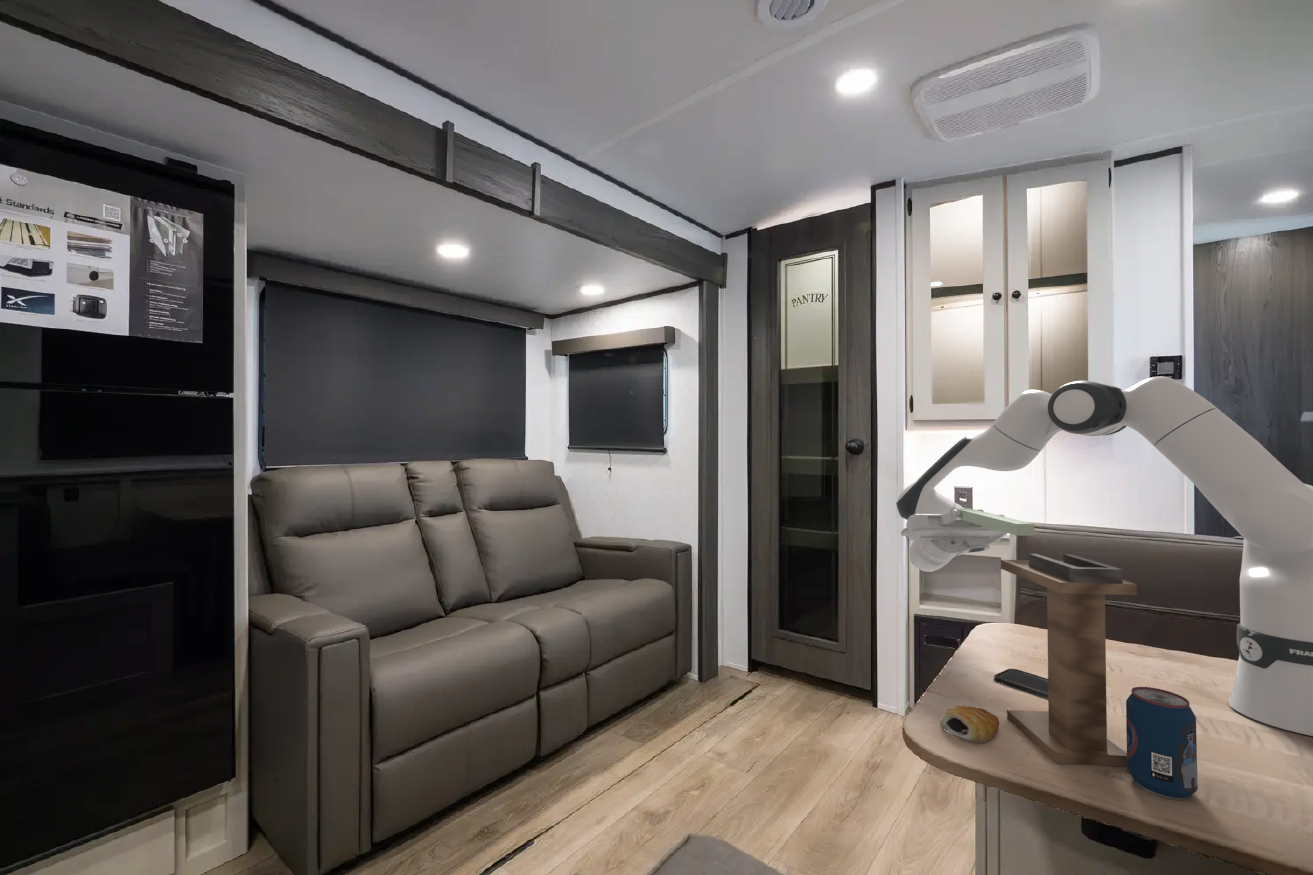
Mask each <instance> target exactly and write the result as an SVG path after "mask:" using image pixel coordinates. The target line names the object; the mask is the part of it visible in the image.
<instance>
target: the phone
mask: <svg viewBox="0 0 1313 875" xmlns="http://www.w3.org/2000/svg"><path fill="white" fill-rule="evenodd" d="M993 680H994V681H995V682H996V683H999V682H1000V683H999V684H1002V683H1003V684H1002V685H1005V684H1006V685H1005V686H1008V687H1011V688H1014V689H1017V690H1020V689H1021V690H1020V691H1023V690H1024V691H1023V692H1025V693H1029V694H1032V695H1034V696H1038V697H1040V698H1043V699H1047V700H1048V677H1047V678H1046V677H1043V676H1039V675H1037V674H1033V673H1030V672H1026V671H1024V670H1020V669H1017V668H1007V669H1005V670H1003V671H1000V672H998V673H996V674H994V676H993Z"/></svg>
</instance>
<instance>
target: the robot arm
mask: <svg viewBox="0 0 1313 875" xmlns="http://www.w3.org/2000/svg"><path fill="white" fill-rule="evenodd" d="M1127 427H1129V428H1131V429H1133V430H1135V431H1136V432H1138V434H1140V435H1141V436H1142V437H1144V439H1146V440H1147V441H1148V442H1149V443H1150V444H1151V445H1152V446H1153V447H1154V448H1155V449H1156V450H1157V451H1158V452H1160V453H1161V454H1162V455H1163V456H1164V457H1165V458H1166V459H1167V460H1168V461H1169V462H1170V463H1171V464H1173V465H1174V466H1175V467H1176V468H1177V469H1178V470H1179V471H1180V472H1181V473H1183V475H1185V477H1186V478H1188V479H1189V480H1190V481H1191V483H1193V485H1194V486H1195V487H1196V488H1197V489H1198V490H1199V492H1200V493H1201V494H1202V495H1203V496H1204V498H1206V500H1207V501H1208V502H1209V503H1210V504H1211V505H1212V507H1214V508H1215V510H1216V511H1217V512H1218V513H1219V514H1220V515H1221V516H1222V517H1223V518H1224V519H1225V520H1226V521H1227V522H1228V523H1229V525H1231V527H1232V528H1234V530H1235V531H1237V532H1238V534H1239V535H1240V536H1241V537H1242V538H1243V545H1242V556H1241V558H1242V559H1241V566H1240V567H1241V568H1240V574H1239V611H1240V612H1239V615H1240V616H1239V618H1240V619H1239V620H1240V622H1239V623H1238V624H1237V625H1236V644H1237V647H1238V652H1239V656H1238V662H1237V668H1236V674H1235V680H1234V683H1233V688H1232V692H1231V693H1230V694H1231V695H1229V699H1228V701H1227V703H1228V705H1229V707H1231V708H1232V709H1233V710H1235V711H1236V712H1238V713H1240V714H1242V715H1244V716H1246V717H1248V718H1249V719H1250V718H1251V719H1253V720H1255V721H1258V722H1260V723H1263V724H1267V725H1269V726H1272V727H1275V728H1279V729H1282V730H1286V731H1289V732H1293V733H1297V734H1300V735H1301V734H1303V735H1305V736H1306V735H1307V736H1310V737H1313V485H1311V484H1307V483H1304V482H1302V481H1301V480H1300V479H1299V478H1298V477H1297V476H1296V475H1294V473H1292V472H1291V471H1290V470H1289V469H1287V468H1286V467H1285V466H1284V465H1283V464H1282V463H1281V462H1280V461H1279V460H1278V459H1277V458H1276V457H1275V456H1273V454H1272V453H1270V452H1269V451H1268V450H1267V449H1266V448H1265V447H1264V445H1262V444H1261V443H1260V441H1258V440H1257V439H1256V438H1254V436H1252V435H1251V434H1249V433H1248V432H1247V431H1246V430H1244V428H1242V427H1241V426H1240V425H1239V424H1237V423H1236V422H1235V421H1233V419H1231V418H1230V417H1229V416H1228V415H1226V414H1225V413H1224V412H1223V411H1221V409H1219V408H1218V407H1217V406H1215V404H1213V403H1212V402H1211V401H1209V400H1207V399H1206V398H1205V397H1204V396H1202V395H1200V394H1199V393H1198V392H1196V391H1195V390H1193V389H1191V388H1189V387H1188V386H1186V385H1185V384H1182V383H1181V382H1180V381H1177V380H1176V379H1174V378H1171V377H1169V376H1165V375H1163V376H1161V375H1160V376H1159V375H1158V376H1152V377H1149V378H1146V379H1143V380H1141V381H1138V382H1137V383H1136V384H1134V385H1132V386H1131V387H1129V388H1127V389H1122V388H1120V387H1117V386H1113V385H1110V384H1108V383H1106V382H1101V381H1090V380H1076V381H1072V382H1068V383H1066V384H1064V385H1061V386H1060V387H1058V388H1057V389H1056V390H1055V391H1054V392H1053V393H1049V392H1047V391H1044V390H1040V389H1029V390H1025V391H1023V392H1021V393H1020V394H1019V395H1018V396H1017V397H1015V399H1013V400H1012V401H1011V402H1010V403H1009V404H1008V405H1007V406H1006V407H1005V408H1004V410H1002V411H1001V413H1000V414H999V415H998V416H997V418H996V419H995V420H994V422H993V423H992V424H991V425H990V427H988V428H987V429H986V430H985V431H983V432H982V433H979V434H977V435H975V436H973V435H970V436H969V435H967V436H965V437H962V439H960V440H959V441H957V442H956V443H955V444H954V445H953V446H952V447H951V448H949V449H948V450H947V451H946V452H945V453H944V454H943V455H942V456H940V457H939V459H938V460H937V461H936V462H934V463H933V464H932V465H931V466H930V467H928V469H927V470H926V471H925V472H924V473H923V474H922V475H921V476H920V477H919V478H918V479H916V481H914V482H913V483H911V484H910V485H908V486H907V487H906V488H904V489H903V491H902V492H901V493H900V494H899V496H898V498H897V500H896V503H895V504H896V508H897V511H898V513H899V516H900V517H901V518H902V519H904V520H906V523H905V527H906V528H905V527H904V528H903V529H902V530H901V531H900V536H902V537H905V538H907V539H908V540H910V541H913V542H912V543H911V545H910V547H909V549H908V559H909V561H910V562H911V564H912V565H913V566H914V567H915V568H917V569H918V570H920V571H922V572H926V573H932V572H936V571H938V570H940V569H942V568H943V567H945V566H946V565H948V563H949V562H950V561H952V559H954V558H955V557H957V556H959V557H960V556H962V555H965V554H969V553H977V552H985V551H988V550H989V549H990V547H991V546H990V545H992V544H996V543H997V542H999V541H1000V540H1001V539H1003V538H1004V537H1006V535H1008V533H1006V532H1003V531H999V530H996V529H992V528H989V527H985V526H982V525H979V524H975V523H972V522H968V521H965V520H961V518H962V516H963V515H962V513H961V512H962V511H961V510H957V509H956V510H955V509H954V508H965V507H963V506H962V505H961V504H959V503H957V502H954V501H953V500H951V499H949V498H948V497H946V496H944V495H942V493H939V492H938V491H936V489H935V487H936V486H937V485H938V484H940V482H942V481H943V480H944V479H945V478H946V477H948V475H950V474H951V473H952V472H953V471H954V470H955V469H957V468H961V467H975V468H980V469H981V468H982V469H986V470H992V471H996V472H1012V471H1013V472H1014V471H1018V470H1021V469H1023V468H1025V467H1026V466H1028V465H1029V464H1030V463H1031V462H1033V460H1034V459H1035V458H1036V457H1037V456H1038V455H1039V454H1040V452H1042V450H1044V447H1045V446H1046V445H1047V444H1048V443H1049V441H1051V439H1052V438H1053V437H1054V436H1055V435H1056V434H1058V433H1059V432H1062V431H1063V432H1066V433H1070V434H1075V435H1081V436H1086V437H1099V436H1109V435H1113V434H1117V433H1120V432H1121V431H1123V430H1124V429H1125V428H1127ZM977 510H978V511H983V512H985V511H984V509H977ZM998 515H999V516H1003V517H1006V516H1005V515H1003V514H998Z"/></svg>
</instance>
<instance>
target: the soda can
mask: <svg viewBox="0 0 1313 875" xmlns="http://www.w3.org/2000/svg"><path fill="white" fill-rule="evenodd" d="M1190 704H1191V703H1190V701H1189V700H1188V698H1185V697H1184V696H1182V695H1179V694H1177V693H1175V692H1173V691H1168V690H1165V689H1161V688H1157V687H1150V686H1136V687H1132V688H1131V692H1130V694H1129V695H1128V698H1127V699H1126V701H1125V711H1126V713H1125V714H1126V715H1125V716H1126V717H1125V718H1126V721H1125V722H1126V724H1125V725H1126V727H1125V728H1126V730H1125V731H1126V753H1127V767H1126V768H1127V772H1128V774H1130V776H1131V778H1132V780H1133V781H1134V783H1135V784H1136V785H1138V787H1140V788H1141V789H1143V790H1145V791H1147V792H1149V793H1151V794H1153V795H1156V796H1157V797H1161V798H1165V799H1170V800H1174V801H1175V800H1176V801H1187V800H1188V799H1190V798H1191V797H1193V795H1194V794H1195V793H1196V792H1197V791H1198V753H1197V752H1198V750H1197V749H1198V748H1197V746H1198V745H1197V739H1198V738H1197V717H1196V715H1195V713H1194V711H1193V709H1192V708H1191V706H1190Z"/></svg>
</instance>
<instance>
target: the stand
mask: <svg viewBox="0 0 1313 875" xmlns="http://www.w3.org/2000/svg"><path fill="white" fill-rule="evenodd" d="M1000 570H1003V571H1006V572H1008V573H1010V574H1013V575H1015V576H1018V577H1019V578H1022V579H1025V580H1027V581H1030V582H1032V583H1035V584H1037V585H1039V586H1042V587H1044V588H1046V607H1047V608H1046V612H1047V614H1046V616H1047V618H1046V619H1047V620H1046V622H1047V679H1048V699H1047V700H1048V701H1047V702H1048V706H1047V707H1048V710H1047V711H1044V710H1024V709H1023V710H1022V709H1021V710H1019V709H1016V710H1015V709H1006V720H1008V721H1009V722H1010V723H1011V724H1012V725H1013V726H1014V727H1016V728H1017V730H1019V731H1020V732H1021V733H1022V734H1023V735H1024V736H1026V737H1027V739H1029V741H1031V742H1032V743H1033V744H1034V745H1035V746H1036V747H1037V748H1039V750H1041V751H1042V752H1043V754H1045V755H1046V756H1047V757H1049V759H1051V760H1052V761H1053V762H1054V763H1055V764H1062V765H1063V764H1064V765H1085V766H1086V765H1087V766H1090V765H1091V766H1105V767H1108V766H1109V767H1125V768H1127V751H1124V749H1122V748H1121V747H1119V746H1118V745H1117V744H1115V743H1114V742H1112V741H1111V740H1110V739H1108V731H1107V730H1108V725H1107V724H1108V722H1107V720H1108V719H1107V716H1108V715H1107V714H1108V713H1107V712H1108V711H1107V710H1108V709H1107V654H1106V653H1107V652H1106V650H1107V649H1106V644H1107V643H1106V640H1107V639H1106V595H1124V596H1137V595H1138V588H1137V587H1138V586H1137V585H1138V584H1137V583H1134V582H1132V581H1128V580H1125V579H1123V577H1124V576H1123V575H1124V574H1123V569H1122V568H1119V567H1115V566H1112V565H1108V564H1106V563H1101V562H1099V561H1096V560H1092V559H1089V558H1084V557H1082V556H1078V555H1075V554H1072V553H1071V554H1070V553H1068V554H1067V553H1066V554H1064V553H1063V554H1062V560H1057V559H1053V558H1051V557H1047V556H1044V555H1041V554H1038V553H1028V559H1000Z"/></svg>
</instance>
